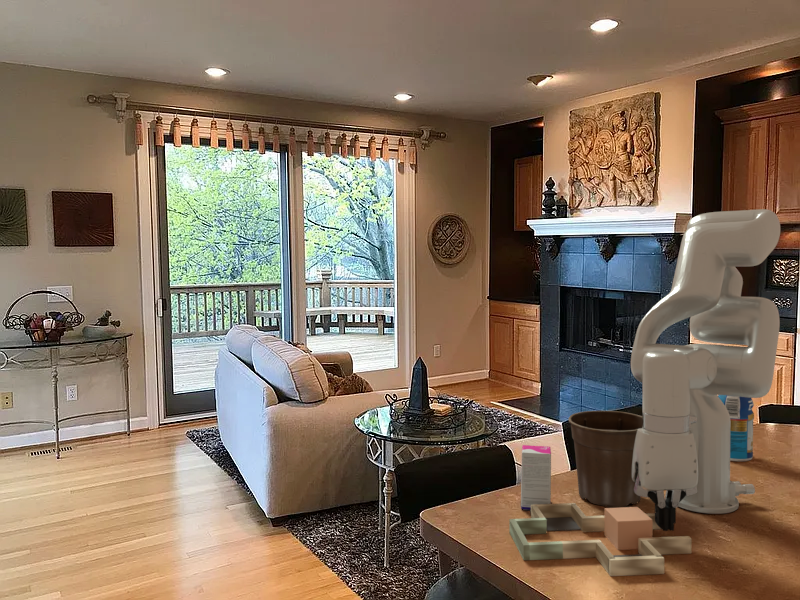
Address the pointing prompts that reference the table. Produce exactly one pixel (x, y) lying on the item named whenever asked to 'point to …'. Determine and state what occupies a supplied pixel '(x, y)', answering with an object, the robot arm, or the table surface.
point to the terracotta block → (626, 526)
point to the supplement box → (535, 476)
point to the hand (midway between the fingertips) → (665, 527)
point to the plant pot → (605, 456)
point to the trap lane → (590, 541)
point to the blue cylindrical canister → (740, 426)
